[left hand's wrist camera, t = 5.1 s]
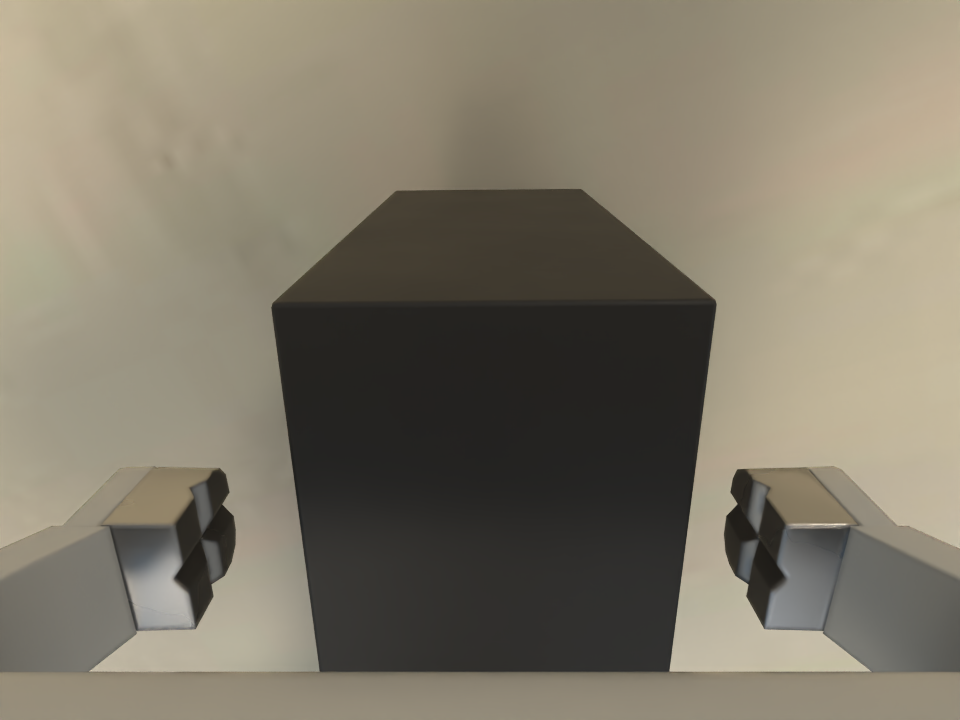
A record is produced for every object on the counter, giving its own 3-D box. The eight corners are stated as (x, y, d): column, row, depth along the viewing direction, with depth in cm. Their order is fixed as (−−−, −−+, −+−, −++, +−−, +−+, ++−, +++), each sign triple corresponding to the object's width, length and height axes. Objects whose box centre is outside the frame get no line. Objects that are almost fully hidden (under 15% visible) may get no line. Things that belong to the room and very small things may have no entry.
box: (394, 190, 20) (268, 303, 8) (582, 188, 20) (719, 299, 8) (428, 776, 29) (390, 1210, 18) (555, 776, 29) (600, 1212, 18)
